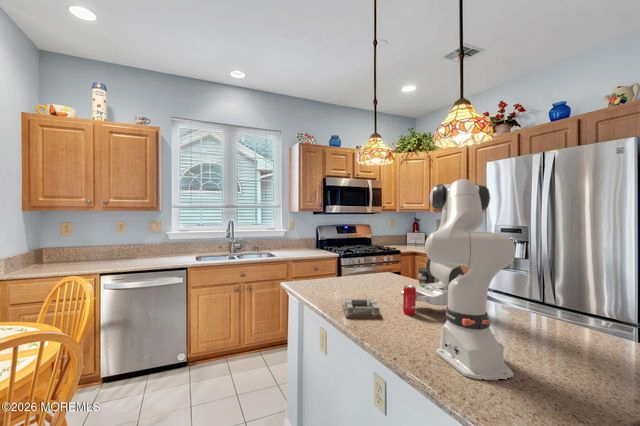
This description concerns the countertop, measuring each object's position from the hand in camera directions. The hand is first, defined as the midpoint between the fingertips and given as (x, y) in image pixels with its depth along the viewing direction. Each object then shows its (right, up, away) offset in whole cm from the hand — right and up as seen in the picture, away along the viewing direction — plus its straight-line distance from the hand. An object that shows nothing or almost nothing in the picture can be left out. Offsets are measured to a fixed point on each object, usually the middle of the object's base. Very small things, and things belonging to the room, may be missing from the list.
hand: (408, 296), depth 137 cm
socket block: (-21, -7, +1) cm, 22 cm away
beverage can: (0, -8, 0) cm, 8 cm away
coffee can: (+18, -8, +29) cm, 35 cm away
